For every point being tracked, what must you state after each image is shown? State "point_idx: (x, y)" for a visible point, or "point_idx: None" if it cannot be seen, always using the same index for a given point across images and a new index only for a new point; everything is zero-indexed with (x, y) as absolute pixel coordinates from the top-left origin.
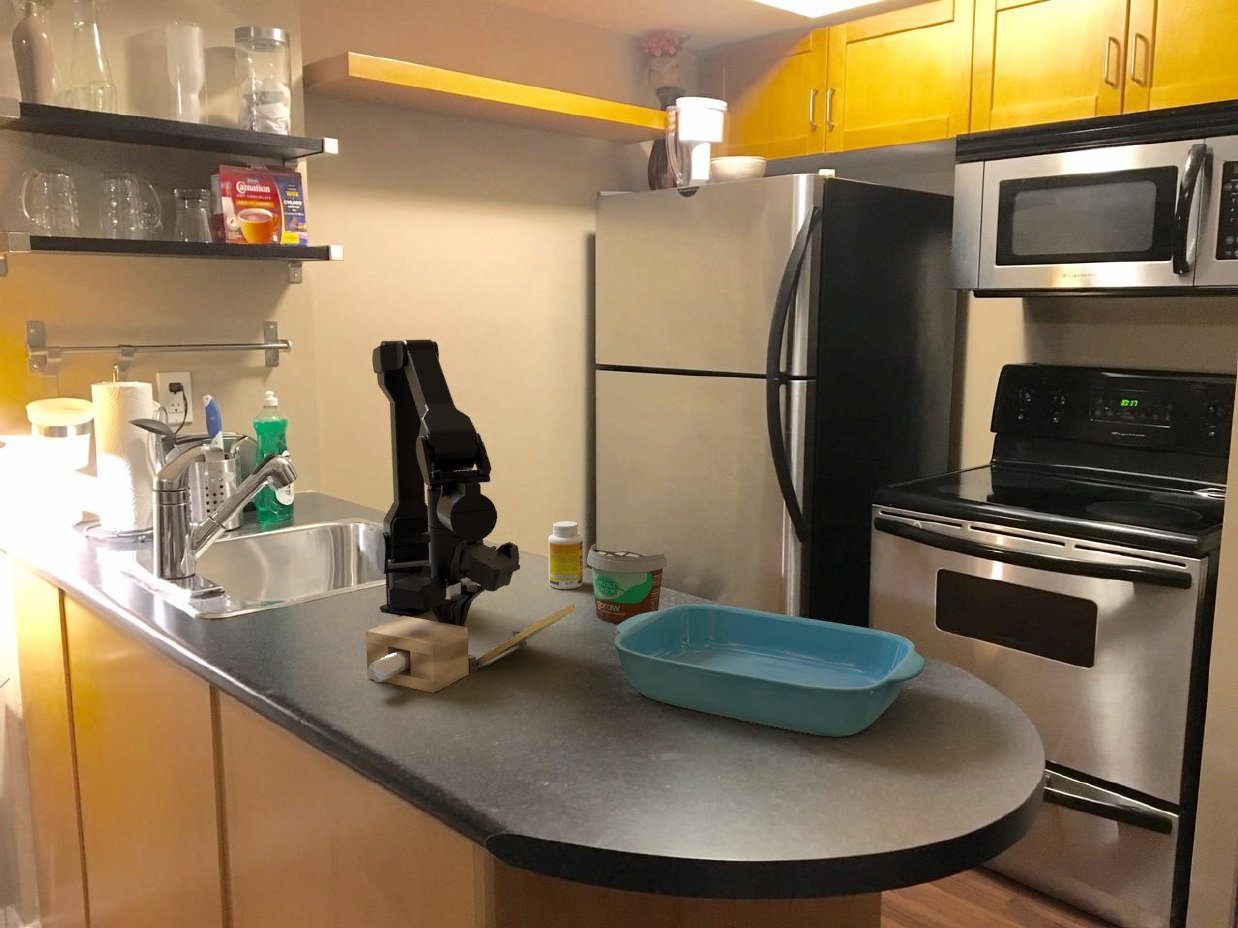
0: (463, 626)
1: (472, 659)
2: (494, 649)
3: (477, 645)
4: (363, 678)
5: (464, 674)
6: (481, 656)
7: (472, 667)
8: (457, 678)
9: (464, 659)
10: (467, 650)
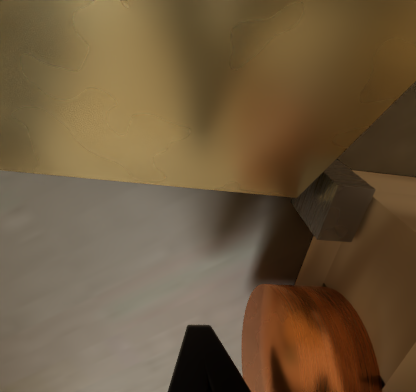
0: (174, 388)
1: (360, 185)
2: (409, 78)
3: (24, 285)
4: None
5: (369, 174)
6: (334, 160)
7: (343, 168)
8: (407, 179)
9: (407, 206)
10: (411, 225)
